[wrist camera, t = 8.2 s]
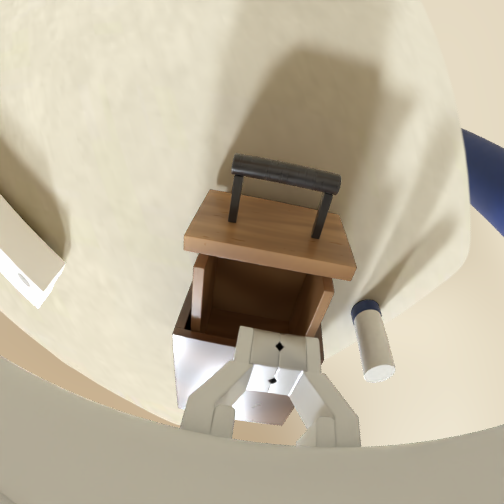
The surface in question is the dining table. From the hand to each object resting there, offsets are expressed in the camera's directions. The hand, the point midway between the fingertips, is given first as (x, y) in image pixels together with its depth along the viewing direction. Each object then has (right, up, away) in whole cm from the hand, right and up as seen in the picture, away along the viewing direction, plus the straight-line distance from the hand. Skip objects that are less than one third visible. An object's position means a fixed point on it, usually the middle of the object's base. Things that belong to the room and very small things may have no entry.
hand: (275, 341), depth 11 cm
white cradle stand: (-34, +6, +21) cm, 40 cm away
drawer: (0, +4, +17) cm, 17 cm away
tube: (+12, -3, +21) cm, 25 cm away
